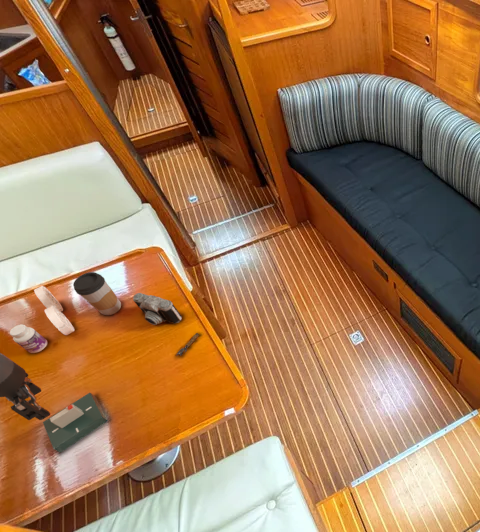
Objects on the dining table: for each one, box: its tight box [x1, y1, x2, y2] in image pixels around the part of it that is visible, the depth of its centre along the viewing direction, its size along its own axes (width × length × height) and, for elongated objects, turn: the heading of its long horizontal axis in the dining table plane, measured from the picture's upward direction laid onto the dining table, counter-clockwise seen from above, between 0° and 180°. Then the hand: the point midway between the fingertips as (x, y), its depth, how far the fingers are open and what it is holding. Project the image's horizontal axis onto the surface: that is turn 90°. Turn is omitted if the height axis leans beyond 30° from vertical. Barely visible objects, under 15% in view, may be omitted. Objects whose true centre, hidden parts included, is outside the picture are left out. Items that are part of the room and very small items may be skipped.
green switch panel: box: [42, 392, 109, 453], centre depth 109 cm, size 12×10×3 cm
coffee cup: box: [72, 271, 122, 316], centre depth 131 cm, size 8×8×15 cm
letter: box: [33, 285, 75, 336], centre depth 130 cm, size 22×2×10 cm, turn 46°
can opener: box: [176, 332, 200, 357], centre depth 126 cm, size 9×2×1 cm, turn 151°
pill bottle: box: [9, 323, 48, 354], centre depth 123 cm, size 5×5×10 cm
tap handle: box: [49, 403, 84, 428], centre depth 106 cm, size 6×1×5 cm, turn 136°
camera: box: [132, 292, 183, 326], centre depth 130 cm, size 15×7×10 cm, turn 72°
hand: (41, 404), depth 98 cm, fingers open, 8 cm apart
